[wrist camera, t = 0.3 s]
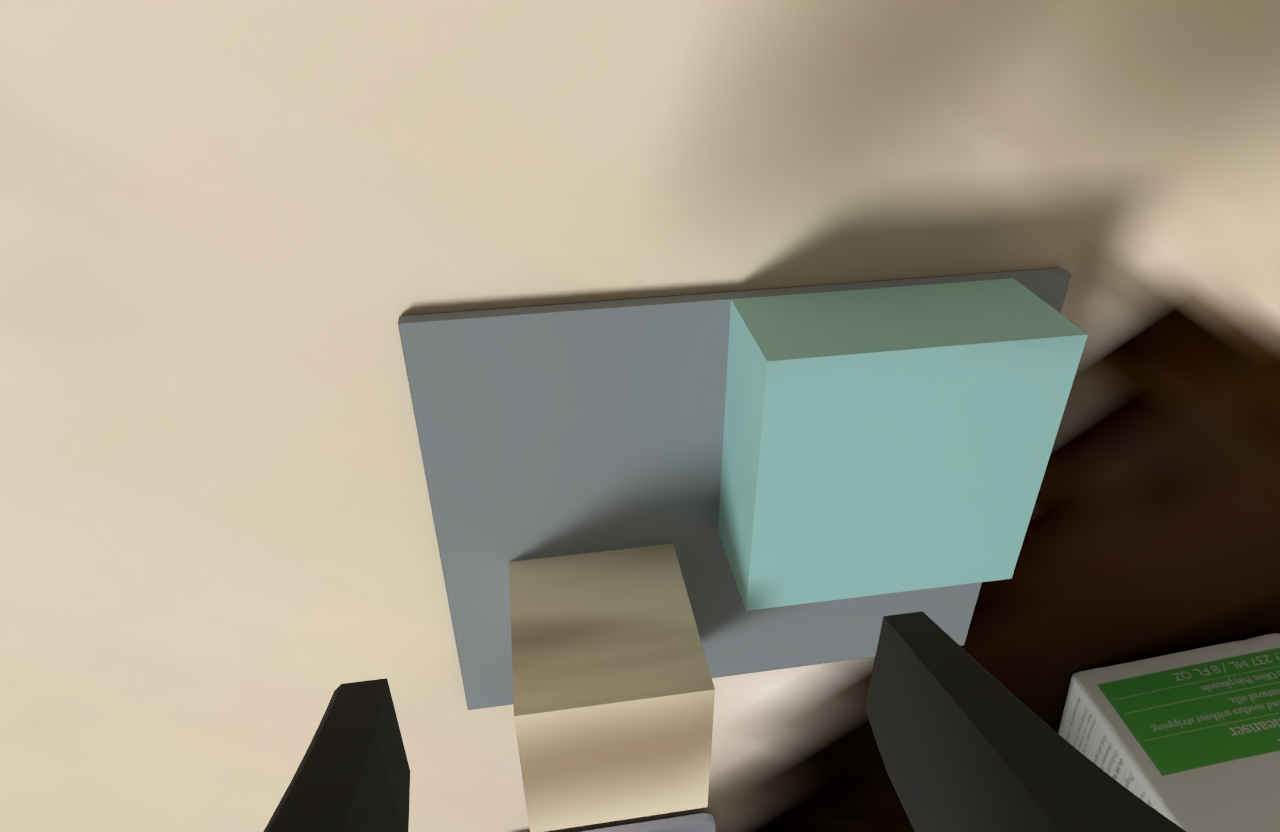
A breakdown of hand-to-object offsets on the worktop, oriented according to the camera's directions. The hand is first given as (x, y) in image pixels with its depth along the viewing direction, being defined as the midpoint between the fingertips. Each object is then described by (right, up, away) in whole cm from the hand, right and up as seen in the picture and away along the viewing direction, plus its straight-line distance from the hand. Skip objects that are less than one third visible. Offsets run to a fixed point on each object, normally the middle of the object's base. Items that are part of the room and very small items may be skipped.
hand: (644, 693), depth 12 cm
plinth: (+6, +4, +9) cm, 12 cm away
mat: (+3, +2, +11) cm, 11 cm away
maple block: (-1, -2, +12) cm, 12 cm away
